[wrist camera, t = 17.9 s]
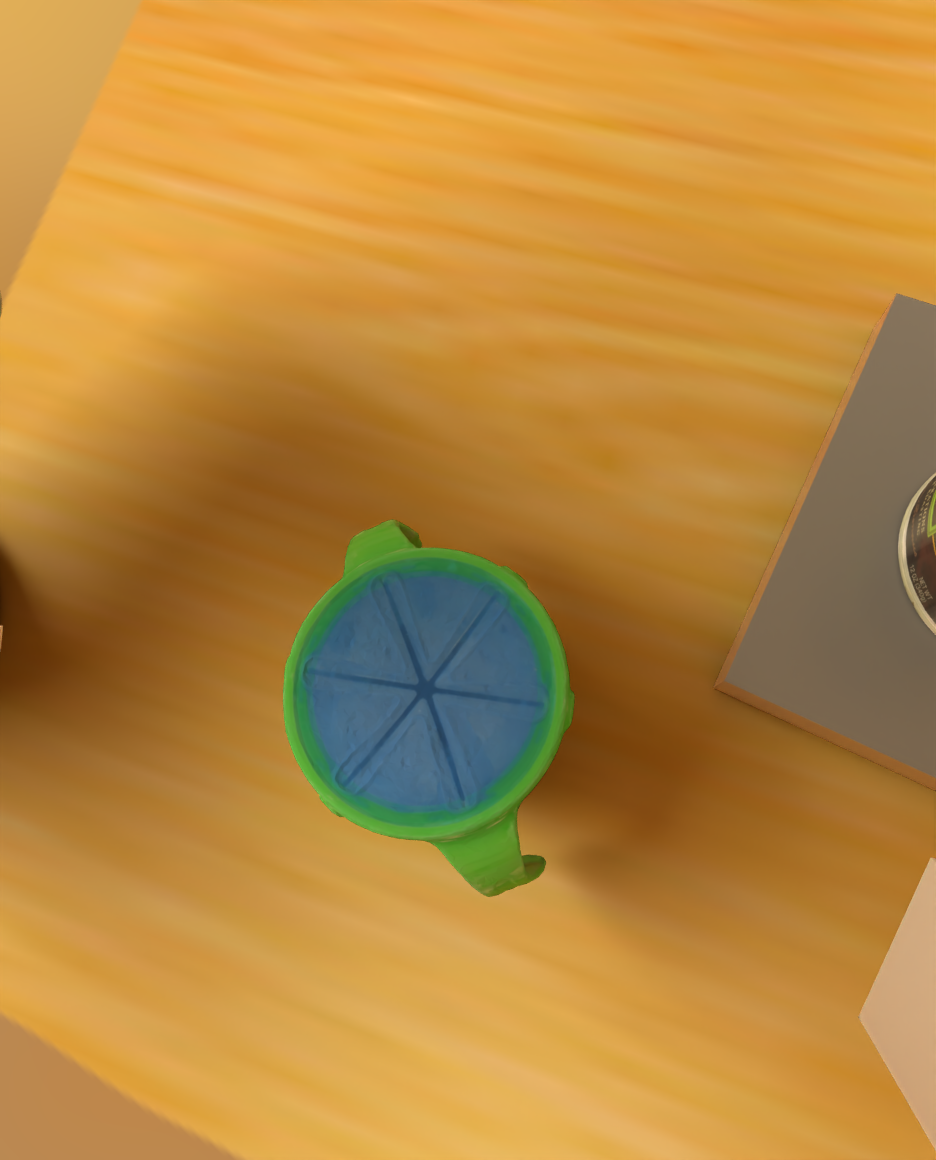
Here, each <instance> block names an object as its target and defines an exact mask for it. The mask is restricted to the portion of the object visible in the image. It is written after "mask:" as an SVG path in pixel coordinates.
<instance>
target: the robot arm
mask: <svg viewBox="0 0 936 1160" xmlns="http://www.w3.org/2000/svg"><path fill="white" fill-rule="evenodd" d="M1 313H2V298H1V293H0V317H1ZM2 631H3V626H1V625H0V650H1V641H2ZM858 1018H859V1019H860V1021H861V1023H862V1024H863V1026H864V1028H865V1030H866V1031H867V1033H868V1035H869V1037H870V1038H871V1040H872V1042H873V1044H874V1045H875V1047H876V1049H877V1050H878V1052H879V1054H880V1056H881V1057H882V1059H883V1061H884V1063H885V1064H886V1066H887V1068H888V1069H889V1071H890V1073H891V1075H892V1076H893V1078H894V1080H895V1082H896V1083H897V1085H898V1087H899V1088H900V1090H901V1092H902V1094H903V1095H904V1097H905V1099H906V1101H907V1102H908V1104H909V1106H910V1108H911V1109H912V1111H913V1113H914V1114H915V1116H916V1118H917V1120H918V1121H919V1123H920V1125H921V1127H922V1128H923V1130H924V1132H925V1133H926V1135H927V1137H928V1139H929V1140H930V1142H931V1144H932V1146H933V1147H934V1149H935V1151H936V858H932V857H931V858H930V860H929V862H928V865H927V867H926V869H925V871H924V873H923V876H922V878H921V880H920V882H919V884H918V887H917V889H916V891H915V893H914V895H913V898H912V900H911V902H910V904H909V906H908V909H907V911H906V913H905V915H904V917H903V920H902V922H901V924H900V926H899V928H898V931H897V933H896V935H895V937H894V939H893V942H892V944H891V946H890V948H889V950H888V953H887V955H886V957H885V959H884V961H883V964H882V966H881V968H880V970H879V972H878V975H877V977H876V979H875V981H874V984H873V986H872V988H871V990H870V992H869V995H868V997H867V999H866V1001H865V1003H864V1006H863V1008H862V1010H861V1012H860V1014H859V1017H858Z"/></svg>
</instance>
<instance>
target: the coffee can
mask: <svg viewBox="0 0 936 1160" xmlns="http://www.w3.org/2000/svg"><path fill="white" fill-rule="evenodd" d="M898 559H899V568H900V573H901V578H902V581H903V585H904V588H905V590H906V593H907V595H908V597H909V599H910V601H911V603H912V604H913V606H914V608H915V610H916V612H917V613H918V615H919V616H920V617H921V619H922V620H923V621H924V623H925V624H926V625H927V626H928V627H929V629H930V630H931V631H932V632H933V633H934V634H935V635H936V473H935V474H933V475H932V476H931V477H930V478H929V479H928V480H927V481H926V482H925V483H924V484H923V485H922V487H921V488H920V489H919V490H918V492H917V493H916V494H915V496H914V497H913V498H912V500H911V501H910V503H909V505H908V507H907V510H906V512H905V515H904V517H903V520H902V524H901V528H900V532H899V541H898Z"/></svg>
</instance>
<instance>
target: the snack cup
mask: <svg viewBox="0 0 936 1160" xmlns="http://www.w3.org/2000/svg"><path fill="white" fill-rule="evenodd" d="M421 547H422V543H421V541H420V539H419V535H418V533H417V532H415V531H414V530H412V529H411V528H410V527H408V526H406V525H404V524H402V523H401V522H398V521H397V520H393V519H392V520H388V521H386V522H382V523H381V524H379V525H377V526H375V527H373V528H371V529H368V530H364V531H362V532H360V533H359V534H357V535H355V536H354V537H353V538H352V539H351V541H350V544H349V545H348V549H347V554H346V556H345V568H344V574H343V578H342V579H341V580H340V581H339V582H338V583H336V584H335V585H334V586H332V587H331V588H330V589H329V590H328V591H327V592H326V593H325V594H324V595H323V596H322V598H321V599H320V600H319V601H318V602H317V603H316V605H315V606H314V607H313V609H312V610H311V611H310V613H309V614H308V616H307V618H306V619H305V621H304V622H303V623H302V626H301V628H300V629H299V632H298V633H297V635H296V638H295V640H294V643H293V646H292V650H291V653H290V656H289V657H288V659H287V662H286V667H285V672H284V687H283V708H284V720H285V727H286V733H287V736H288V740H289V743H290V746H291V748H292V751H293V754H294V756H295V759H296V761H297V762H298V764H299V766H300V768H301V770H302V772H303V773H304V775H305V777H306V778H307V780H308V781H309V783H310V784H311V785H312V787H313V788H314V789H315V790H316V791H317V793H318V794H319V795H320V796H319V797H320V800H321V801H322V802H323V803H324V804H325V805H326V806H327V807H328V808H329V810H330V811H331V812H332V813H334V814H336V815H337V816H339V817H345V818H347V819H348V820H350V821H351V822H353V823H355V824H357V825H359V826H361V827H363V828H365V829H368V830H370V831H372V832H375V833H378V834H381V835H385V836H389V837H394V838H399V839H408V840H422V841H427V842H430V843H432V844H433V845H435V846H436V847H437V848H438V849H439V850H440V851H441V852H442V853H443V855H444V856H445V857H446V858H447V860H448V861H449V862H450V863H451V864H452V865H453V866H454V868H455V869H456V870H457V871H458V872H459V873H460V874H461V875H462V876H463V877H464V879H465V880H466V881H467V882H468V883H469V884H470V885H471V886H472V887H473V888H475V889H476V890H477V891H478V892H480V893H481V894H483V895H485V896H488V897H491V896H495V895H499V894H501V893H503V892H504V891H506V890H510V889H513V888H515V887H517V886H520V885H524V884H527V883H529V882H531V881H533V880H534V879H536V878H538V877H539V876H540V875H541V873H542V872H543V871H544V868H545V865H546V861H545V859H544V858H543V857H541V856H537V855H524V856H522V855H521V851H520V843H519V836H518V830H517V812H518V808H519V806H520V804H521V802H522V801H523V800H524V798H525V797H526V796H527V795H528V794H529V793H530V792H531V791H532V790H533V789H534V788H535V786H536V785H537V784H538V783H539V781H540V780H541V778H542V777H543V776H544V774H545V773H546V771H547V770H548V768H549V766H550V765H551V763H552V761H553V759H554V757H555V755H556V753H557V751H558V748H559V746H560V743H561V740H562V737H563V734H564V733H565V731H566V730H567V729H568V728H569V727H570V725H571V722H572V718H573V710H574V701H575V696H574V693H573V692H572V691H571V689H570V678H569V670H568V665H567V659H566V654H565V650H564V647H563V644H562V641H561V639H560V636H559V634H558V632H557V629H556V627H555V625H554V623H553V621H552V619H551V618H550V616H549V615H548V613H547V611H546V610H545V608H544V607H543V605H542V604H541V603H540V602H539V600H538V599H537V598H536V597H535V596H534V594H533V593H532V592H531V591H530V590H529V589H528V586H527V583H526V581H525V580H524V579H523V578H522V577H521V576H519V575H518V574H517V573H515V572H514V571H512V570H511V569H510V568H509V567H507V566H498V565H496V564H495V563H493V562H491V561H489V560H487V559H485V558H483V557H480V556H476V555H473V554H470V553H467V552H463V551H458V550H452V549H444V548H421Z"/></svg>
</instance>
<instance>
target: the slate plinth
mask: <svg viewBox="0 0 936 1160" xmlns="http://www.w3.org/2000/svg"><path fill="white" fill-rule="evenodd" d="M935 473H936V306H935V305H932V304H929V303H926V302H923V301H919V300H916V299H913V298H910V297H907V296H903V295H900V294H896V295H895V297H894V298H893V300H892V301H891V303H890V304H889V306H888V307H887V309H886V310H885V312H884V313H883V315H882V317H881V318H880V320H879V321H878V323H877V324H876V326H875V327H874V329H873V331H872V333H871V335H870V337H869V340H868V342H867V344H866V346H865V349H864V351H863V353H862V355H861V358H860V360H859V362H858V364H857V367H856V369H855V371H854V373H853V376H852V378H851V380H850V382H849V384H848V387H847V389H846V391H845V393H844V396H843V398H842V400H841V402H840V405H839V407H838V409H837V411H836V414H835V416H834V418H833V420H832V423H831V425H830V427H829V429H828V431H827V434H826V436H825V438H824V440H823V443H822V445H821V447H820V449H819V452H818V454H817V456H816V458H815V461H814V463H813V465H812V467H811V470H810V472H809V474H808V476H807V478H806V481H805V483H804V485H803V487H802V490H801V492H800V494H799V496H798V499H797V501H796V503H795V505H794V508H793V510H792V512H791V514H790V517H789V519H788V521H787V523H786V526H785V528H784V530H783V532H782V534H781V537H780V539H779V541H778V543H777V546H776V548H775V550H774V552H773V555H772V557H771V559H770V561H769V564H768V566H767V568H766V570H765V573H764V575H763V577H762V579H761V581H760V584H759V586H758V588H757V590H756V593H755V595H754V597H753V599H752V602H751V604H750V606H749V608H748V611H747V613H746V615H745V617H744V620H743V622H742V624H741V626H740V628H739V631H738V633H737V635H736V637H735V640H734V642H733V644H732V646H731V649H730V651H729V653H728V655H727V658H726V660H725V662H724V664H723V667H722V669H721V671H720V673H719V675H718V678H717V680H716V682H715V684H714V687H713V688H715V689H717V690H719V691H721V692H723V693H725V694H728V695H730V696H732V697H734V698H736V699H738V700H740V701H743V702H745V703H747V704H749V705H751V706H753V707H756V708H758V709H760V710H762V711H764V712H766V713H768V714H771V715H773V716H775V717H777V718H779V719H781V720H784V721H786V722H788V723H790V724H792V725H794V726H797V727H799V728H801V729H803V730H805V731H807V732H809V733H812V734H814V735H816V736H818V737H820V738H822V739H825V740H827V741H829V742H831V743H833V744H835V745H837V746H840V747H842V748H844V749H846V750H848V751H850V752H853V753H855V754H857V755H859V756H861V757H863V758H866V759H868V760H870V761H872V762H874V763H876V764H878V765H881V766H883V767H885V768H887V769H889V770H891V771H894V772H896V773H898V774H900V775H902V776H904V777H906V778H909V779H911V780H913V781H915V782H917V783H919V784H922V785H924V786H926V787H928V788H930V789H932V790H935V791H936V635H935V634H934V633H933V632H932V631H931V630H930V629H929V627H928V626H927V625H926V624H925V623H924V621H923V620H922V619H921V617H920V616H919V615H918V613H917V612H916V610H915V608H914V606H913V604H912V603H911V601H910V599H909V597H908V595H907V593H906V590H905V588H904V585H903V581H902V578H901V573H900V568H899V559H898V541H899V532H900V528H901V524H902V520H903V517H904V515H905V512H906V510H907V507H908V505H909V503H910V501H911V500H912V498H913V497H914V496H915V494H916V493H917V492H918V490H919V489H920V488H921V487H922V485H923V484H924V483H925V482H926V481H927V480H928V479H929V478H930V477H931V476H932V475H933V474H935Z"/></svg>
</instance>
